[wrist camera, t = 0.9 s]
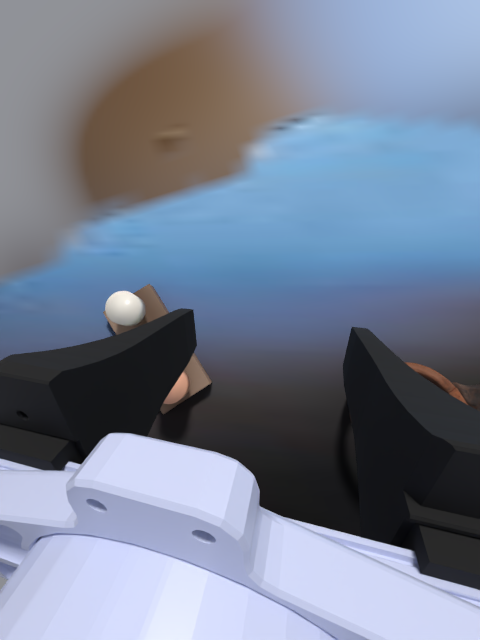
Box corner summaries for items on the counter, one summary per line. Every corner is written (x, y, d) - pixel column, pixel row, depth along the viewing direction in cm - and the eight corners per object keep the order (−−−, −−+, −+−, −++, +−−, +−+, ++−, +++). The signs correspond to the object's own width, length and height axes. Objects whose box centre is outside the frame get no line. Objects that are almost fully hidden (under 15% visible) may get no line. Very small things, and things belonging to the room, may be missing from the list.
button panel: (166, 411, 25) (162, 414, 24) (109, 313, 26) (103, 311, 25) (212, 382, 25) (210, 383, 24) (153, 286, 27) (149, 283, 25)
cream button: (124, 332, 24) (115, 330, 22) (108, 306, 24) (99, 302, 22) (151, 315, 24) (145, 312, 22) (135, 289, 24) (128, 284, 22)
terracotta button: (168, 407, 23) (162, 411, 21) (151, 379, 23) (145, 380, 21) (196, 389, 23) (193, 391, 21) (179, 361, 23) (174, 361, 22)
